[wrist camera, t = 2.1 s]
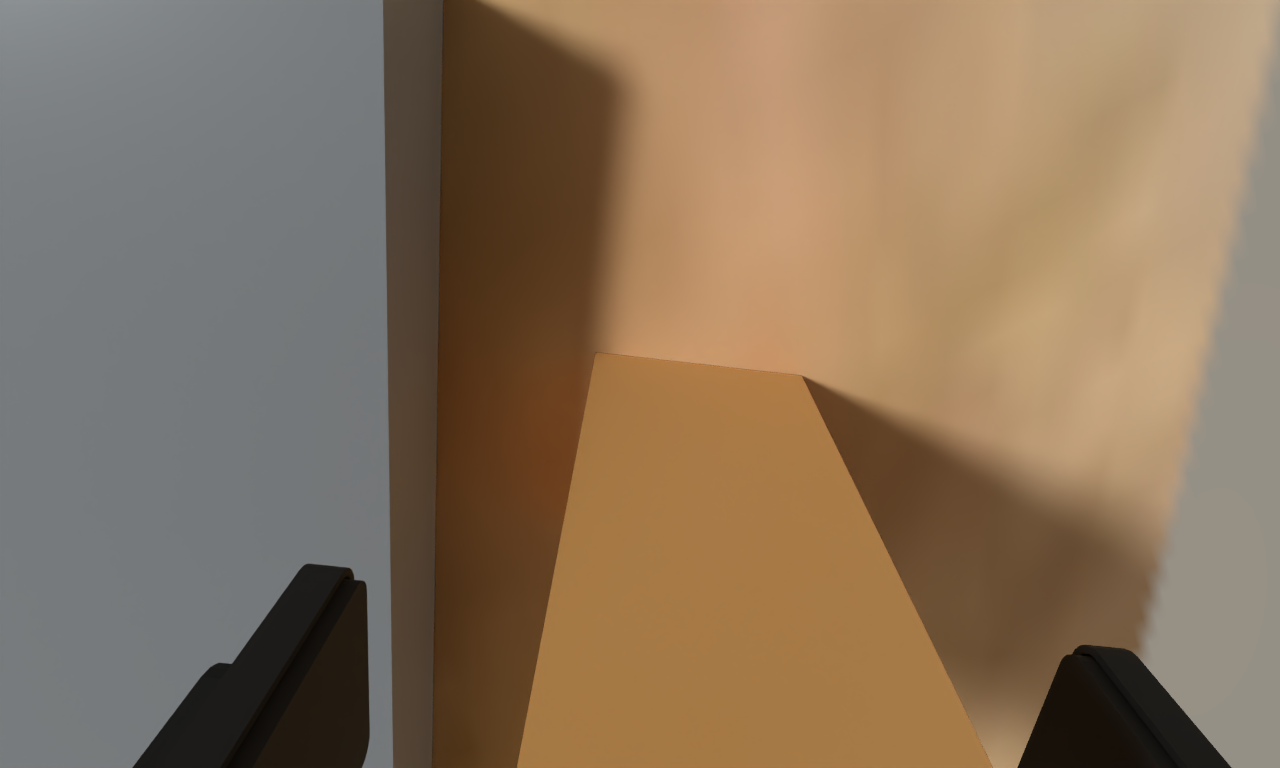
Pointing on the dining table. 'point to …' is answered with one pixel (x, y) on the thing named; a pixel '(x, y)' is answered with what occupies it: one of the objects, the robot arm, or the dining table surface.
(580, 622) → the plug
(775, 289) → the dining table surface
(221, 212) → the socket plate
